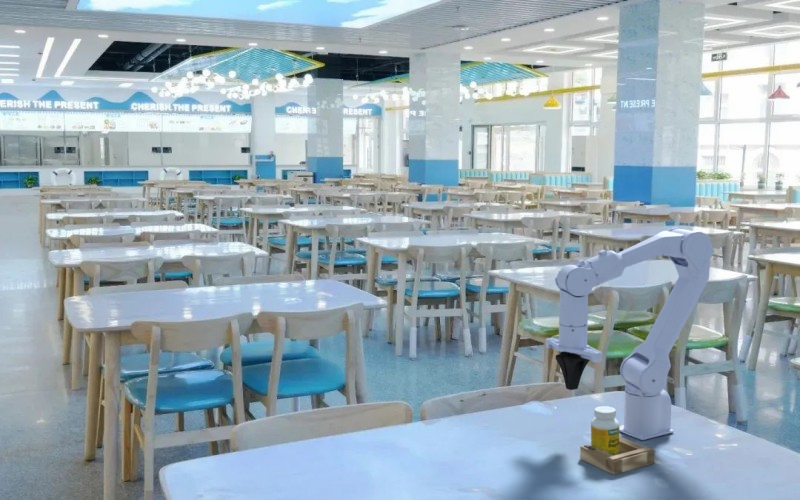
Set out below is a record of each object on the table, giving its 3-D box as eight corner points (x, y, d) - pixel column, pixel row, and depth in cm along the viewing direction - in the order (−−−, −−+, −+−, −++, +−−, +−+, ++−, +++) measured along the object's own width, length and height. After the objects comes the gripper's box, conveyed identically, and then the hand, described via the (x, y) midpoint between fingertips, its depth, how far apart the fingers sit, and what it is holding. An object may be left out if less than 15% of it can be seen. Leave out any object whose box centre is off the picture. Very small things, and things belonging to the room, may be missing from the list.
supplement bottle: (600, 449, 164) (600, 402, 163) (624, 455, 160) (624, 408, 159) (585, 457, 160) (585, 409, 159) (610, 464, 156) (610, 415, 155)
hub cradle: (619, 448, 164) (620, 435, 164) (654, 463, 157) (654, 449, 156) (580, 458, 159) (580, 445, 159) (613, 474, 152) (614, 460, 151)
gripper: (534, 320, 172) (533, 383, 174) (584, 333, 160) (582, 401, 161) (560, 316, 176) (559, 378, 177) (610, 328, 163) (608, 395, 165)
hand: (572, 388), depth 170 cm, fingers closed
